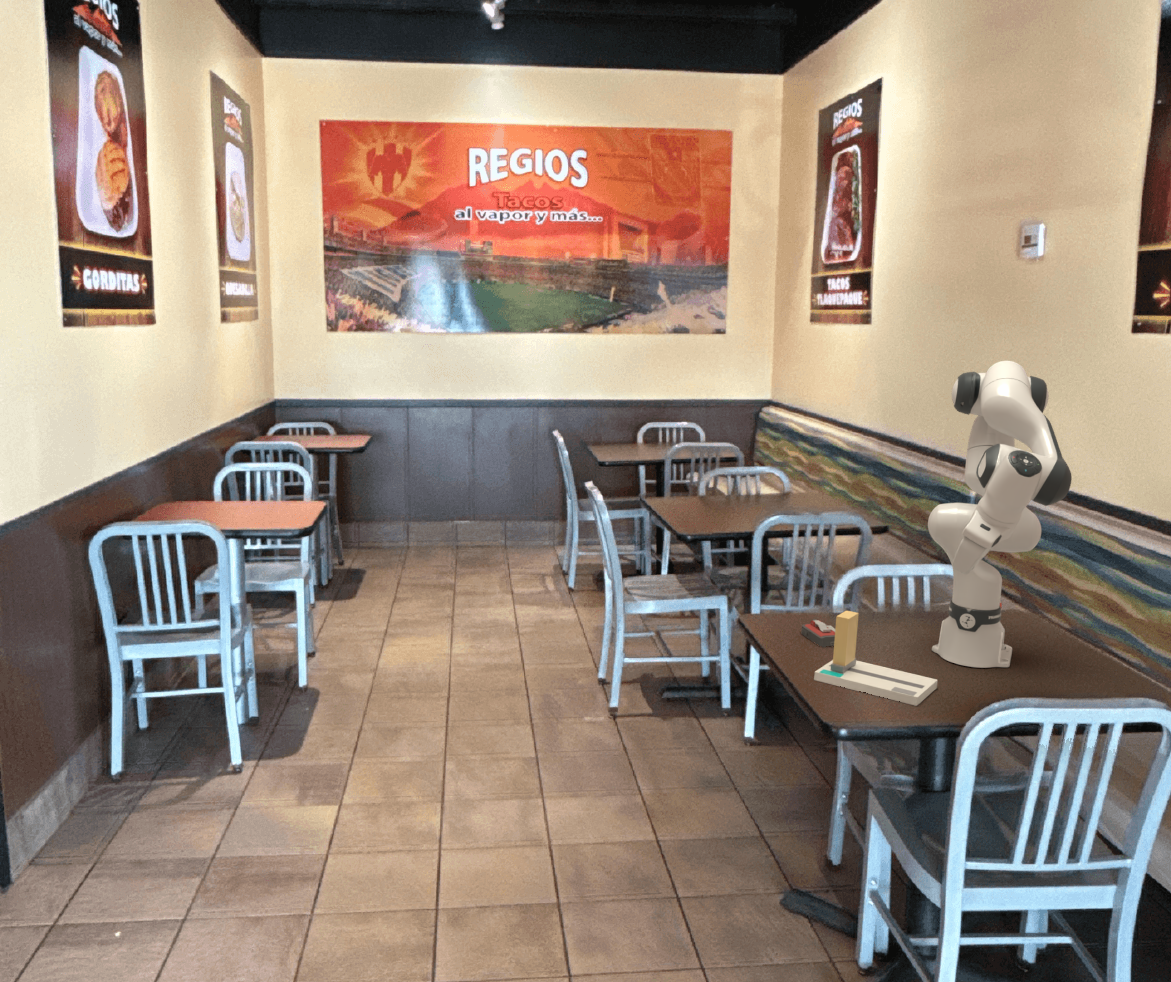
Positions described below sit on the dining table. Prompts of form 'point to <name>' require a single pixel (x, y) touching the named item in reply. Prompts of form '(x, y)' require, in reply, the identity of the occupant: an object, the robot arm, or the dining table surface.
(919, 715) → the dining table surface
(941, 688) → the dining table surface
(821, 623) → the red toggle switch
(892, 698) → the switch track
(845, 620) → the slider tab
